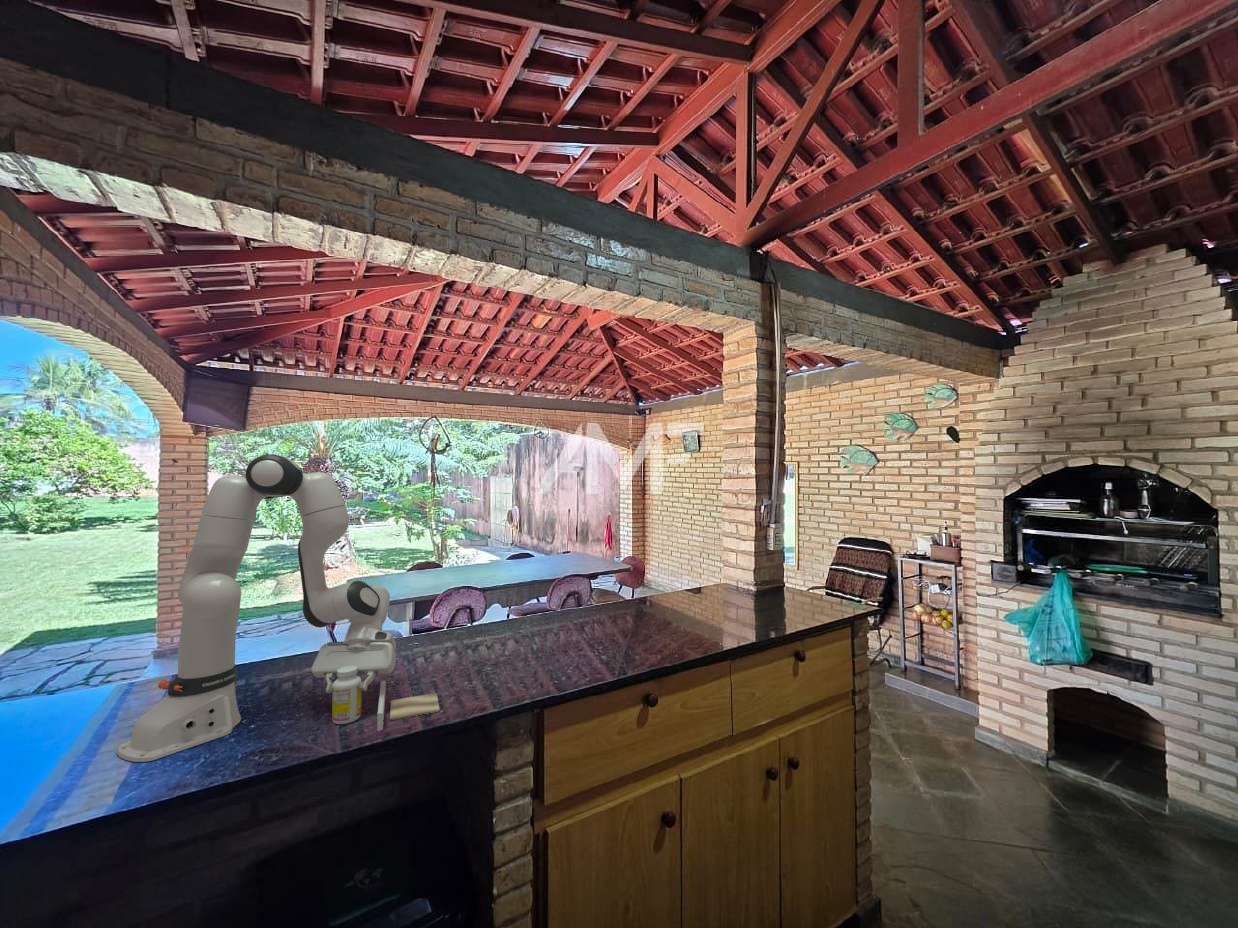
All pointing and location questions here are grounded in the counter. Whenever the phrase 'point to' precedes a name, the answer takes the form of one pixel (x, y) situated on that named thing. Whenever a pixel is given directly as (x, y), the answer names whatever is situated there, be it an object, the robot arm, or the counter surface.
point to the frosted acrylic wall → (381, 706)
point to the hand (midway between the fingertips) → (346, 690)
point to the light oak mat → (414, 706)
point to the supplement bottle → (346, 696)
